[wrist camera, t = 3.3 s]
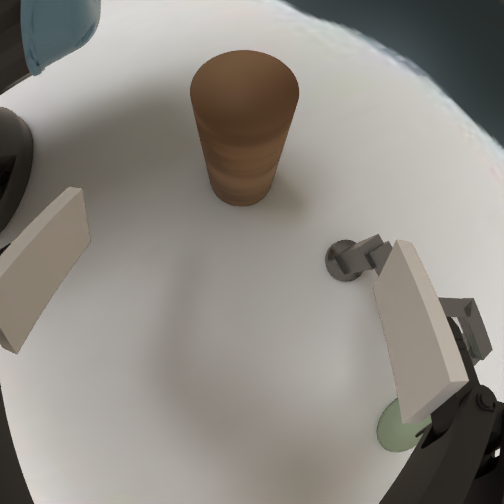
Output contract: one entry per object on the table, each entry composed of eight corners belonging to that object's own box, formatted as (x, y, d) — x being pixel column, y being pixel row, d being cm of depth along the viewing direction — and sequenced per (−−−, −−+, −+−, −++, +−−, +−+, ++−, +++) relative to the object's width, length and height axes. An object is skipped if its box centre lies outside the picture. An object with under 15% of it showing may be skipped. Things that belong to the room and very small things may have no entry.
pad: (366, 420, 23) (368, 422, 22) (420, 379, 24) (422, 380, 23) (390, 461, 22) (392, 463, 22) (439, 422, 23) (441, 423, 23)
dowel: (199, 166, 25) (172, 75, 13) (251, 138, 25) (262, 39, 14) (229, 217, 24) (223, 152, 13) (284, 187, 25) (320, 105, 13)
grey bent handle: (312, 273, 24) (341, 266, 17) (339, 233, 25) (375, 211, 18) (437, 365, 24) (487, 381, 17) (457, 328, 24) (509, 334, 17)
